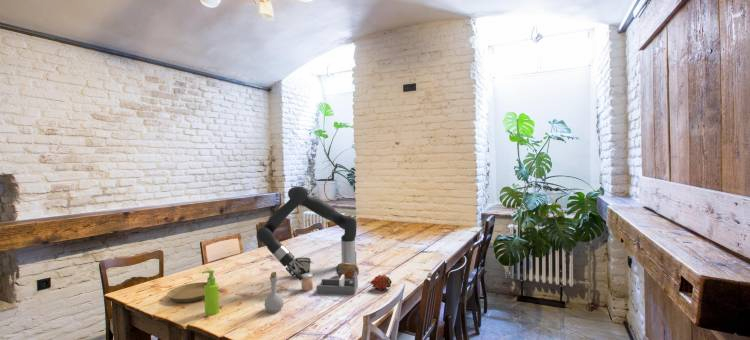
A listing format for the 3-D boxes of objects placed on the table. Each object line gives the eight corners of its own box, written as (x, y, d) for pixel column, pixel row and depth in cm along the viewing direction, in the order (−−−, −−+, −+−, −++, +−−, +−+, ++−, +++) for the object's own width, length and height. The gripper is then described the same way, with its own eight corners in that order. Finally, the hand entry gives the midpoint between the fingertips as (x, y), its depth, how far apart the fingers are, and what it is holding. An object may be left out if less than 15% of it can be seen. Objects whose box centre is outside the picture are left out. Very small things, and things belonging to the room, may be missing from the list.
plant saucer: (171, 291, 194) (171, 285, 194) (219, 285, 203) (219, 279, 203) (162, 308, 172) (162, 301, 172) (216, 300, 180) (216, 294, 180)
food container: (313, 272, 222) (313, 257, 222) (311, 276, 216) (311, 260, 215) (295, 272, 223) (294, 256, 223) (291, 275, 217) (291, 259, 217)
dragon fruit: (393, 292, 192) (371, 295, 193) (392, 279, 199) (371, 282, 200) (391, 283, 187) (369, 286, 188) (390, 270, 194) (368, 273, 194)
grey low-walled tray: (316, 293, 188) (316, 276, 188) (322, 285, 199) (321, 270, 199) (354, 294, 186) (354, 277, 186) (357, 287, 197) (357, 271, 196)
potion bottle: (287, 307, 171) (286, 270, 170) (276, 315, 162) (275, 276, 162) (272, 305, 174) (271, 268, 173) (260, 312, 165) (259, 274, 165)
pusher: (339, 290, 188) (339, 279, 188) (342, 285, 196) (342, 274, 196) (341, 290, 188) (341, 279, 188) (344, 285, 196) (344, 274, 196)
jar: (310, 286, 198) (310, 272, 198) (314, 289, 193) (314, 275, 193) (299, 288, 195) (299, 274, 195) (303, 292, 190) (303, 277, 190)
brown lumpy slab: (335, 276, 216) (335, 262, 215) (338, 274, 218) (338, 261, 218) (357, 279, 209) (356, 265, 208) (359, 278, 211) (359, 264, 211)
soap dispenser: (205, 310, 168) (204, 269, 167) (220, 309, 168) (219, 268, 168) (200, 316, 162) (199, 273, 161) (216, 315, 163) (215, 272, 162)
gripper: (283, 254, 188) (304, 276, 187) (292, 247, 202) (312, 268, 201) (274, 264, 188) (295, 286, 188) (283, 256, 203) (303, 277, 202)
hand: (304, 276), depth 194 cm, fingers open, 8 cm apart
